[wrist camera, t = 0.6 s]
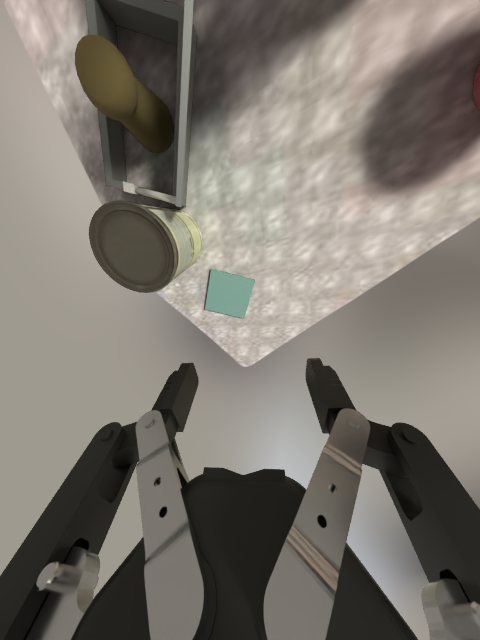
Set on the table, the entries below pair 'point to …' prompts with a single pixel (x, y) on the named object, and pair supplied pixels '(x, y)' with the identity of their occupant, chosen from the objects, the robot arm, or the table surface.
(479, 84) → the plant pot
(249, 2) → the table surface
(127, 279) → the coffee can
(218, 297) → the dock mat
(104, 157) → the case
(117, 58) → the cork
